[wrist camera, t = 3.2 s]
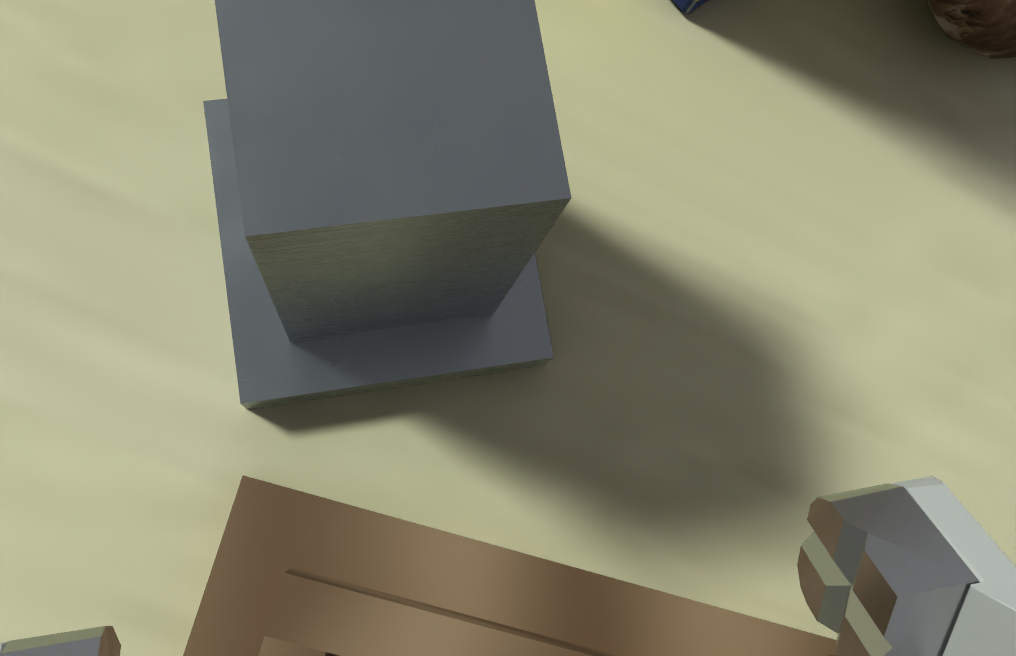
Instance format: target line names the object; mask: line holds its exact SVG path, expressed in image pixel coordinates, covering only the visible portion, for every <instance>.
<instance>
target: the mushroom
mask: <svg viewBox="0 0 1016 656" xmlns="http://www.w3.org/2000/svg"><path fill="white" fill-rule="evenodd" d="M926 1H927V2H928V4H929V6H930V8H931V10H932V12H933V14H934V16H935V18H936V20H937V22H938V24H939V26H940V28H941V29H942V30H943V31H944V33H945V34H946V35H947V36H948V37H950V38H951V39H953V40H955V41H957V42H959V43H961V44H963V45H964V46H966V47H968V48H970V49H972V50H974V51H976V52H978V53H979V54H982V55H984V56H987V57H989V58H991V59H993V58H1012V57H1016V0H926Z"/></svg>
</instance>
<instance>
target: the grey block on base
mask: <svg viewBox="0 0 1016 656" xmlns="http://www.w3.org/2000/svg"><path fill="white" fill-rule="evenodd" d="M215 5H216V13H217V21H218V29H219V37H220V44H221V52H222V60H223V68H224V76H225V84H226V91H227V99H220V100H210V101H203V102H204V110H205V118H206V126H207V134H208V142H209V150H210V159H211V167H212V175H213V183H214V191H215V199H216V207H217V215H218V224H219V232H220V240H221V248H222V256H223V264H224V272H225V281H226V289H227V297H228V305H229V313H230V321H231V329H232V337H233V346H234V354H235V362H236V370H237V378H238V386H239V394H240V403H241V404H242V405H243V406H244V407H245V408H246V409H252V408H259V407H266V406H272V405H279V404H286V403H293V402H299V401H306V400H313V399H319V398H326V397H333V396H339V395H346V394H353V393H360V392H366V391H373V390H380V389H386V388H393V387H400V386H406V385H413V384H420V383H427V382H433V381H440V380H447V379H453V378H460V377H467V376H473V375H480V374H487V373H494V372H500V371H507V370H514V369H520V368H527V367H534V366H540V365H545V364H546V363H547V362H549V361H550V360H551V359H552V358H554V357H553V351H552V345H551V340H550V334H549V329H548V323H547V317H546V312H545V306H544V300H543V295H542V289H541V284H540V278H539V272H538V267H537V261H536V256H535V251H536V250H537V248H538V247H539V245H540V244H541V242H542V241H543V239H544V238H545V236H546V235H547V233H548V232H549V230H550V229H551V227H552V226H553V224H554V223H555V221H556V220H557V218H558V217H559V215H560V214H561V212H562V211H563V210H564V208H565V207H566V205H567V204H568V202H569V201H570V199H571V194H570V189H569V183H568V178H567V173H566V167H565V162H564V156H563V151H562V146H561V140H560V135H559V130H558V124H557V119H556V113H555V108H554V103H553V97H552V92H551V87H550V81H549V76H548V71H547V65H546V60H545V54H544V49H543V44H542V38H541V33H540V28H539V22H538V17H537V11H536V6H535V1H534V0H215Z"/></svg>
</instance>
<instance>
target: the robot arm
mask: <svg viewBox="0 0 1016 656" xmlns="http://www.w3.org/2000/svg"><path fill="white" fill-rule="evenodd" d="M807 520H808V522H809V523H810V525H811V527H812V528H813V530H814V533H813V534H812V535H811V536H810V537H809V538H808V539H807V540H806V541H805V542H804V543H803V544H802V545H801V548H800V554H799V559H798V572H799V579H800V586H801V589H802V592H803V594H804V597H805V600H806V602H807V604H808V606H809V608H810V610H811V611H812V613H813V615H814V617H815V618H816V620H817V621H818V622H820V623H821V624H823V625H825V626H826V627H828V628H830V629H831V630H833V631H834V632H836V633H838V635H837V642H836V649H835V652H836V654H837V655H838V656H1016V566H1015V565H1014V564H1013V563H1012V561H1011V560H1010V559H1009V558H1008V557H1007V556H1006V554H1005V553H1004V552H1003V551H1002V550H1001V549H1000V547H999V546H998V545H997V544H996V543H995V542H994V541H993V539H992V538H991V537H990V536H989V535H988V534H987V532H986V531H985V530H984V529H983V528H982V527H981V525H980V524H979V523H978V522H977V521H976V520H975V519H974V517H973V516H972V515H971V514H970V513H969V512H968V510H967V509H966V508H965V507H964V506H963V505H962V503H961V502H960V501H959V500H958V499H957V498H956V496H955V495H954V494H953V493H952V492H951V491H950V490H949V488H948V487H947V486H946V485H945V484H944V483H943V482H942V481H941V480H939V479H937V478H935V477H933V476H930V477H925V478H919V479H914V480H908V481H902V482H897V483H893V484H883V485H878V486H872V487H867V488H862V489H857V490H852V491H846V492H841V493H836V494H831V495H826V496H821V497H818V498H817V499H816V500H815V501H814V502H813V503H812V504H811V507H810V511H809V514H808V518H807ZM120 649H121V644H120V642H119V640H118V638H117V635H116V633H115V631H114V629H113V626H103V627H96V628H90V629H83V630H77V631H70V632H64V633H57V634H51V635H44V636H38V637H31V638H25V639H18V640H12V641H8V642H2V643H0V656H120Z"/></svg>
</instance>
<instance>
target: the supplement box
mask: <svg viewBox="0 0 1016 656" xmlns="http://www.w3.org/2000/svg"><path fill="white" fill-rule="evenodd" d="M672 1H673V2H674V3H675V4H676V5H677V6H678V7H679V9H680V10H681V11H682V12H683V13H690V12H692V11H693V10H695V9H696V8H698V7H699V6H701V5H702V4H703V3H705V2H706V1H708V0H672Z"/></svg>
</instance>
